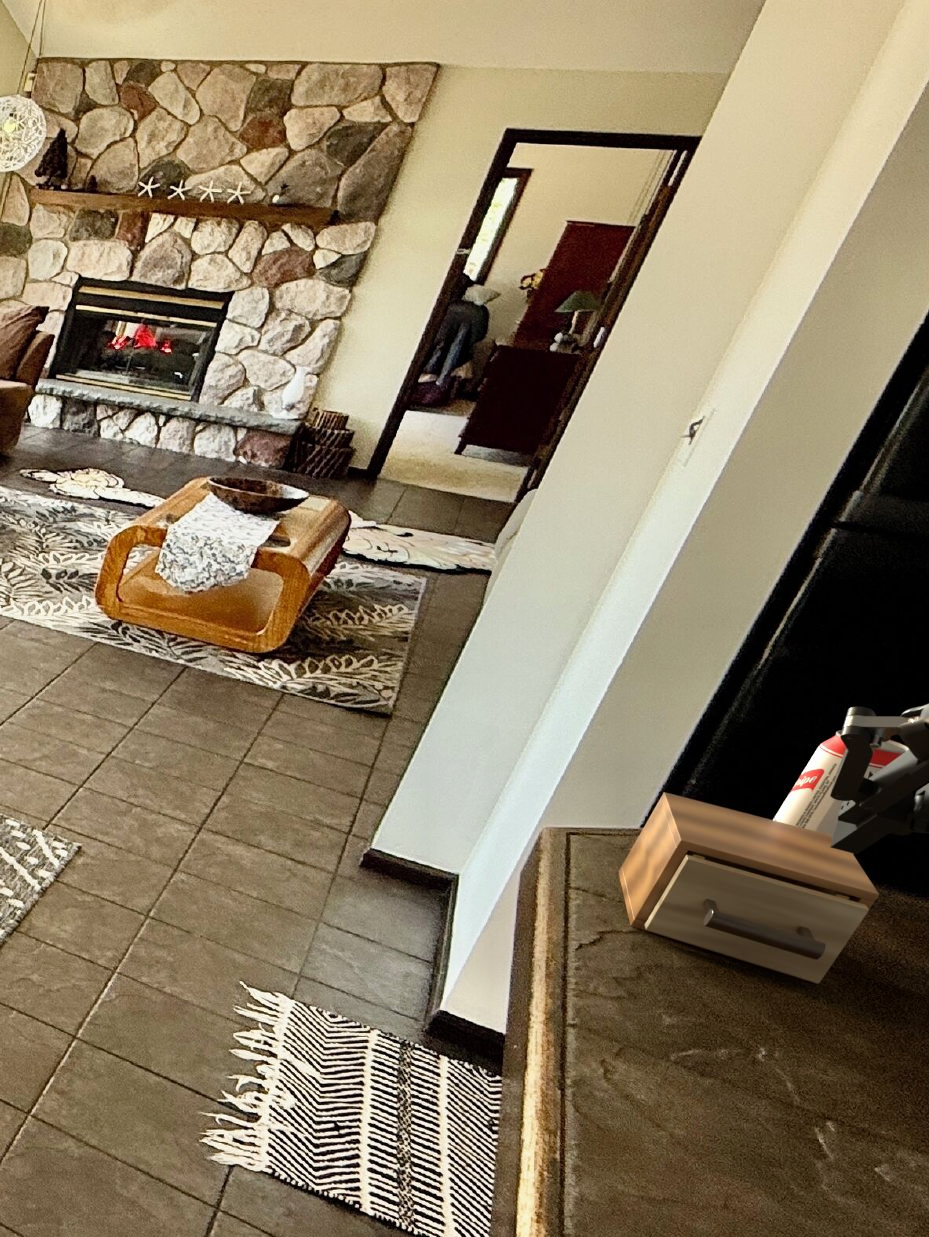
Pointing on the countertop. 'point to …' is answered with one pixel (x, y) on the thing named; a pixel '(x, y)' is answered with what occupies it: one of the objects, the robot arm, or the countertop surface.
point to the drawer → (756, 916)
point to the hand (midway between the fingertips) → (847, 836)
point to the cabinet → (731, 854)
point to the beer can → (827, 785)
